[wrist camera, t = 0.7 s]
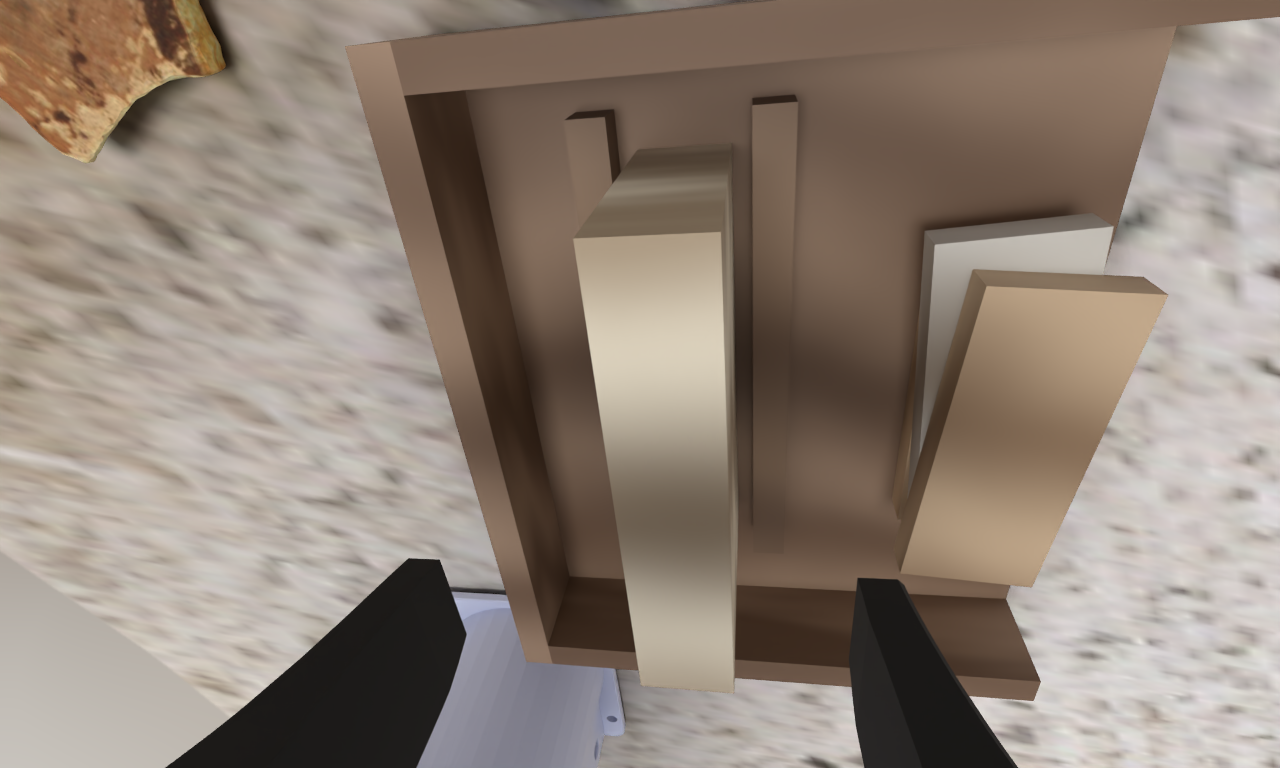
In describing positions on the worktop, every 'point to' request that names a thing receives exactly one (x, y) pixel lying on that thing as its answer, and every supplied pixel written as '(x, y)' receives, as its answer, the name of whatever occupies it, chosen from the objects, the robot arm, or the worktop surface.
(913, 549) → the offcut top
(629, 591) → the birch sheet
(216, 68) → the shard
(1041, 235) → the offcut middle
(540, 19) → the worktop surface
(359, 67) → the rack
